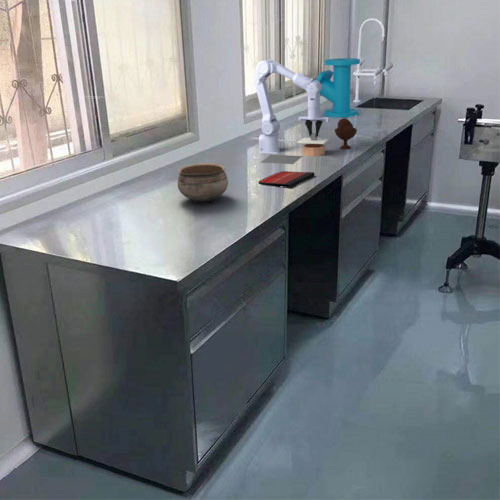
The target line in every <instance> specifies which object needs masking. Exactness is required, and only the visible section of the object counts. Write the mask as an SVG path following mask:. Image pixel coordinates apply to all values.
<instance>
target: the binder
mask: <svg viewBox="0 0 500 500" xmlns="http://www.w3.org/2000/svg"><path fill="white" fill-rule="evenodd" d="M314 177H315V172H313V171H312V172H311V171H285V170H283V171H279V172H276V173H273V174H271V175H269V176H266V177H264V178H262V179H260V180H258V185H263V186H269V187H274V186H275V187H276V188H281V187H280V186H290V187H289V189H292V188H294V187H296V186H298V185H300V184H302V183H304V182H306V181H307V179H308V180H310V179H312V178H314ZM305 180H306V181H305ZM303 181H304V182H303ZM301 182H302V183H301ZM299 183H300V184H299ZM297 184H298V185H297ZM289 189H288V190H289Z"/></svg>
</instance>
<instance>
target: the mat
mask: <svg viewBox="0 0 500 500" xmlns="http://www.w3.org/2000/svg"><path fill="white" fill-rule="evenodd" d="M301 158H303V155H290V154H289V155H286V154H285V155H284V154H282V155H280V154H270V155H268V156H267V157H265V158H264V159H263V160H261V161H260V163H263V164H279V165H280V164H281V165H294V164H296V162H297V161H299V160H300V159H301Z"/></svg>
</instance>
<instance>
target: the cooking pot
mask: <svg viewBox="0 0 500 500" xmlns="http://www.w3.org/2000/svg"><path fill="white" fill-rule="evenodd" d="M225 170H226V166H225V165H223V164H220V163H213V162H211V163H210V162H201V163H193V164H192V163H191V164H187V165H183V166H181V167H180V168H178V170H177V171H178V172H179V175H178V177H177V178H178V179H177V188H178V191H179V192H180V193H181V195H182V196H184V197H185V198H187V199H189V200H192V201H194V202H196V203H199V204H200V203H201V204H207V203H210V202H211V203H212V202H213V201H214V200H215V199H218V198H219V197H220V196H221V195H223V194H224V193H225V192H226V191H227V189H228V185H229V180H228V175H227V173H226V171H225Z"/></svg>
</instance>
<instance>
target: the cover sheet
mask: <svg viewBox="0 0 500 500" xmlns="http://www.w3.org/2000/svg"><path fill="white" fill-rule="evenodd" d="M330 140H331V138H327V137H326V138H325V137H324V138H323V137H322V138H321V137H316V133H313V132H312V134H311V137H303V138H301V139H300V140H298V141H296V143H297V144H309V143H310V144H324V145H325V144H327V142H329V141H330Z"/></svg>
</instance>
